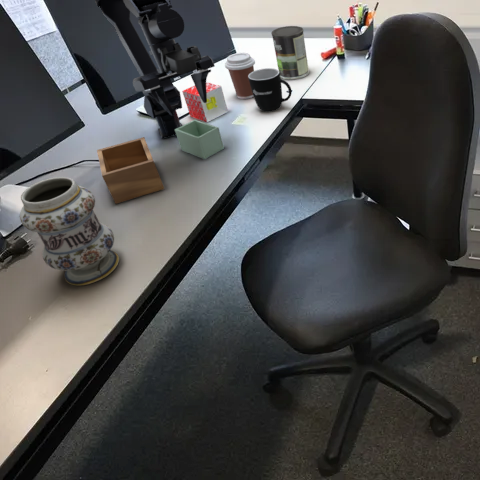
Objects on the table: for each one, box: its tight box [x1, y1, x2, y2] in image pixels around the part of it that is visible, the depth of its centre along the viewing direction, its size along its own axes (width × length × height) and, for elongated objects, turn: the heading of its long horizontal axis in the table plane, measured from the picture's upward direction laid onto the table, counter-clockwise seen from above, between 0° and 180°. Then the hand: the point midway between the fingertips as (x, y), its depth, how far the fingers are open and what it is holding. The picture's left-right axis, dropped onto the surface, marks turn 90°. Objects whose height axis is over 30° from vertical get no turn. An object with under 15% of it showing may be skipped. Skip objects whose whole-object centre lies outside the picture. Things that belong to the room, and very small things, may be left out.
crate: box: [96, 136, 165, 205], centre depth 114 cm, size 14×11×8 cm
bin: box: [175, 119, 225, 160], centre depth 125 cm, size 10×7×6 cm
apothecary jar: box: [19, 176, 120, 286], centre depth 87 cm, size 12×12×18 cm
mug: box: [248, 67, 292, 113], centre depth 141 cm, size 12×9×10 cm
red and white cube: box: [181, 81, 229, 123], centre depth 142 cm, size 8×8×8 cm
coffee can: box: [270, 25, 310, 80], centre depth 160 cm, size 10×10×14 cm
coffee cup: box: [224, 52, 256, 100], centre depth 150 cm, size 9×9×12 cm
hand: (189, 108), depth 118 cm, fingers open, 9 cm apart
